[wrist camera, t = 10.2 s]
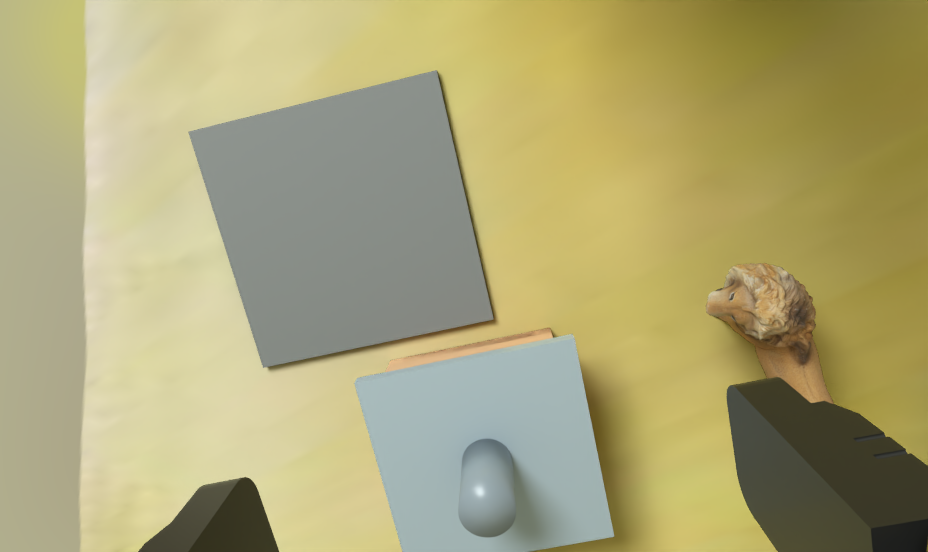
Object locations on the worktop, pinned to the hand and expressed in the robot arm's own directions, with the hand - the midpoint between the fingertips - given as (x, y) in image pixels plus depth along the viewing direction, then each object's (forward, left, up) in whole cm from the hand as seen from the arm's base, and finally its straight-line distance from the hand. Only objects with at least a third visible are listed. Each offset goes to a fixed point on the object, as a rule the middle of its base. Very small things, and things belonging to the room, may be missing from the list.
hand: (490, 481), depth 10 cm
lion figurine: (+11, +15, -30) cm, 35 cm away
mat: (-2, -9, -29) cm, 31 cm away
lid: (+13, -3, -24) cm, 28 cm away
